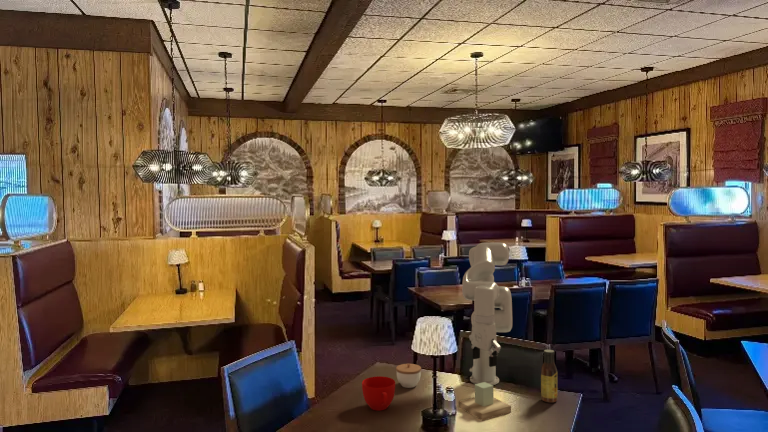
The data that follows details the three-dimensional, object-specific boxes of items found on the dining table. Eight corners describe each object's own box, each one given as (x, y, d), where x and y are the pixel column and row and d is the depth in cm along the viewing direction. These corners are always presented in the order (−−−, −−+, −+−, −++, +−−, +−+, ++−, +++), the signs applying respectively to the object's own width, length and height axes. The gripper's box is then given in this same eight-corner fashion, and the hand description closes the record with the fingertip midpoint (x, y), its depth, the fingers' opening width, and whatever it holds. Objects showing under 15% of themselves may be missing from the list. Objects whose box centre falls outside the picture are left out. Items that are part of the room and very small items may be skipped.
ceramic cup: (369, 420, 202) (368, 393, 202) (359, 402, 218) (358, 378, 218) (402, 415, 206) (402, 389, 205) (390, 399, 222) (390, 374, 221)
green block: (474, 402, 212) (474, 384, 211) (484, 399, 214) (484, 381, 214) (483, 406, 207) (483, 388, 207) (493, 403, 210) (493, 385, 210)
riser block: (458, 408, 213) (458, 401, 213) (486, 401, 220) (486, 394, 220) (482, 421, 201) (482, 413, 201) (511, 413, 208) (511, 405, 208)
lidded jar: (423, 382, 241) (423, 360, 240) (418, 390, 231) (418, 368, 230) (399, 379, 244) (399, 359, 243) (393, 388, 234) (393, 366, 233)
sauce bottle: (558, 403, 215) (558, 353, 214) (541, 402, 216) (541, 353, 215) (556, 397, 222) (556, 349, 221) (540, 396, 223) (540, 348, 222)
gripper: (462, 314, 214) (462, 357, 216) (491, 325, 199) (491, 371, 201) (477, 312, 218) (477, 354, 220) (507, 322, 203) (507, 367, 205)
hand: (484, 362), depth 210 cm, fingers open, 9 cm apart
